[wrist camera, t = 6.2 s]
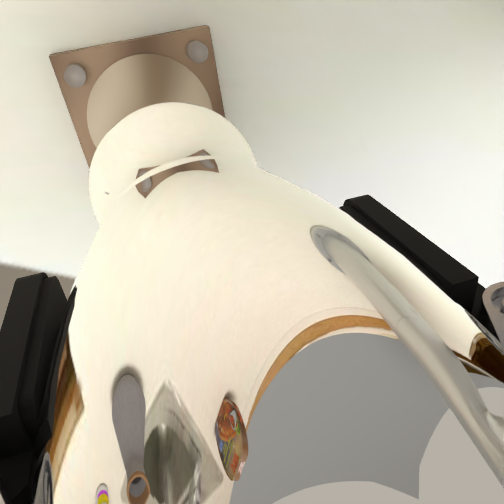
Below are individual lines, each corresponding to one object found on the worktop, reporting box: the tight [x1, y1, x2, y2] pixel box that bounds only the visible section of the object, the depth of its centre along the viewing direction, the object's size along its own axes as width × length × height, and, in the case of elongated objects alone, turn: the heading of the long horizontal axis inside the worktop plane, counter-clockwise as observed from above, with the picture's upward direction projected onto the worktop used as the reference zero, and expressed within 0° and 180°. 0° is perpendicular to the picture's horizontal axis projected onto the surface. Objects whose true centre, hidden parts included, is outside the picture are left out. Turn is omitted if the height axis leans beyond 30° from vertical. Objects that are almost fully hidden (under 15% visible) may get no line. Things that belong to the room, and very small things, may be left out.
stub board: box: [49, 25, 225, 169], centre depth 30 cm, size 10×10×3 cm
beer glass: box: [28, 102, 504, 504], centre depth 10 cm, size 7×7×15 cm
